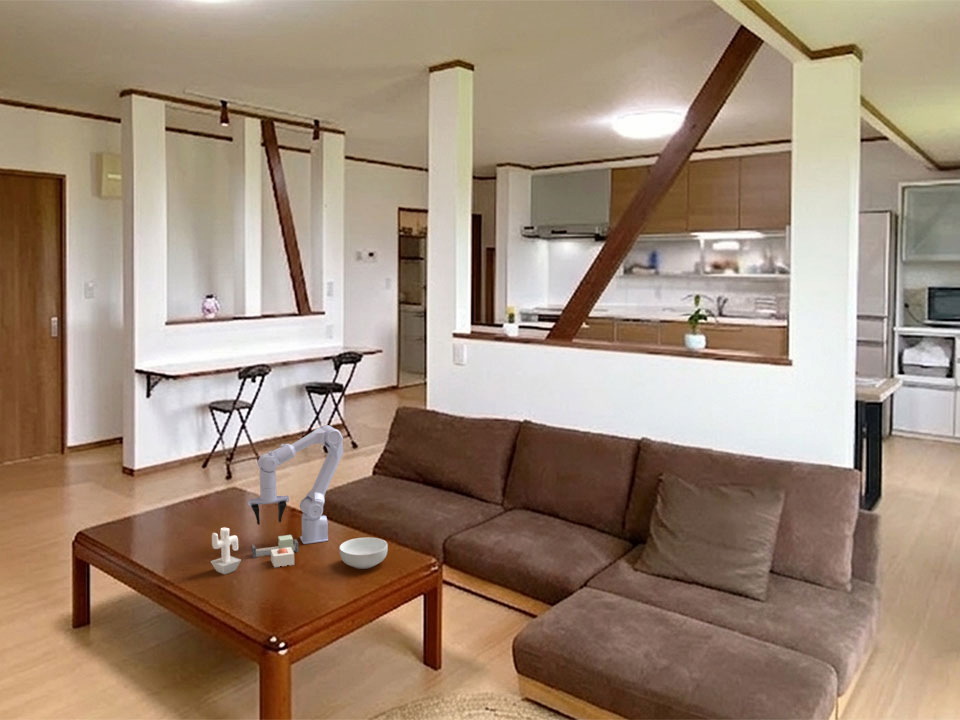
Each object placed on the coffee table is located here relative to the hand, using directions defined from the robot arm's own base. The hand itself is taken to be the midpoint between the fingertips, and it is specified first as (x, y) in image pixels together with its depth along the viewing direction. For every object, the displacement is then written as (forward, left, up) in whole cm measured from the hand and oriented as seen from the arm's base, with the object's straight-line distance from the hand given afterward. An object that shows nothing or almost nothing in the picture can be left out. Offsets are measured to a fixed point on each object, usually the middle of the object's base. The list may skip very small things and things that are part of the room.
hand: (269, 522), depth 288 cm
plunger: (-2, +17, -9) cm, 20 cm away
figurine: (+17, +18, -10) cm, 27 cm away
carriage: (-5, +7, -9) cm, 13 cm away
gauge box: (-2, +18, -9) cm, 20 cm away
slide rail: (-1, +7, -9) cm, 12 cm away
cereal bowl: (-28, +30, -10) cm, 42 cm away
